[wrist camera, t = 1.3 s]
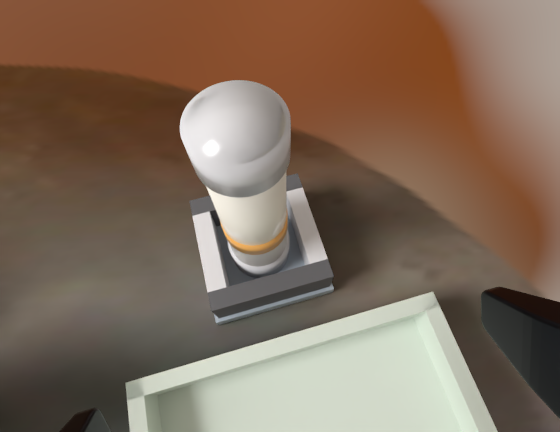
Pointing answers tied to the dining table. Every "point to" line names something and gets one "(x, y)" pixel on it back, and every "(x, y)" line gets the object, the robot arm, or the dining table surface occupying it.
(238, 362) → the tray
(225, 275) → the tray
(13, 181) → the dining table surface
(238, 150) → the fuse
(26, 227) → the dining table surface
